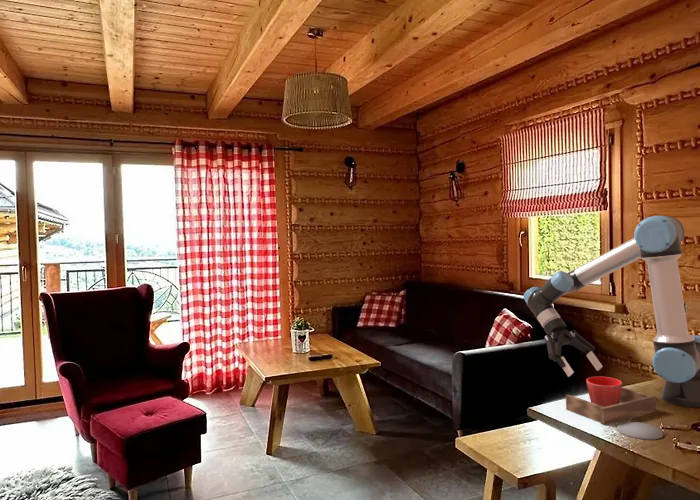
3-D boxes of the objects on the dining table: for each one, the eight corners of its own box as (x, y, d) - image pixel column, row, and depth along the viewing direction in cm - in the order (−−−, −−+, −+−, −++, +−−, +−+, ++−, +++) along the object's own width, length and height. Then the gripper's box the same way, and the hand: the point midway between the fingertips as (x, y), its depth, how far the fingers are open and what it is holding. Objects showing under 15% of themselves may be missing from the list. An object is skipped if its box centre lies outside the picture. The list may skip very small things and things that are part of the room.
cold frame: (564, 409, 171) (564, 395, 171) (614, 398, 180) (614, 384, 180) (604, 424, 157) (603, 409, 157) (655, 411, 166) (655, 396, 166)
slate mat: (651, 423, 156) (651, 421, 156) (671, 439, 144) (671, 437, 144) (611, 423, 157) (610, 422, 157) (627, 439, 145) (626, 437, 145)
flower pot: (627, 415, 164) (626, 385, 164) (591, 414, 166) (590, 385, 166) (617, 404, 174) (616, 376, 174) (583, 403, 177) (582, 376, 176)
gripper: (571, 325, 197) (605, 372, 184) (521, 332, 188) (553, 382, 174) (582, 313, 192) (617, 360, 178) (530, 320, 182) (564, 371, 169)
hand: (585, 371), depth 176 cm, fingers open, 13 cm apart
